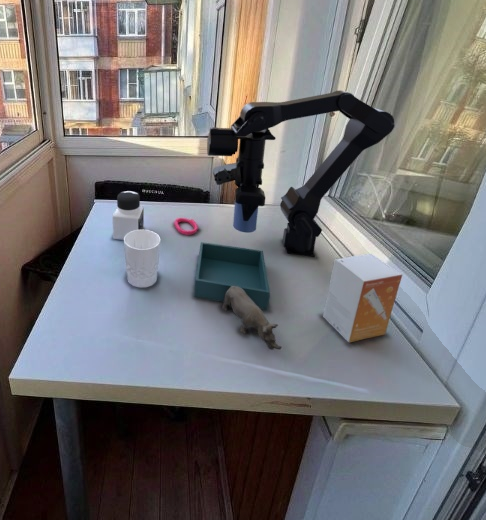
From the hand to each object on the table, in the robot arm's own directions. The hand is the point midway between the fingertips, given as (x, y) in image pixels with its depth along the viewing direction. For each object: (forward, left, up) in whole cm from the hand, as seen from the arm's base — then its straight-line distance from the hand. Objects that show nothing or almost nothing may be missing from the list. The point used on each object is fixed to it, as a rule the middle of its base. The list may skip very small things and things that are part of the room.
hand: (245, 215), depth 84 cm
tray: (+3, +15, -9) cm, 18 cm away
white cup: (+22, +19, -9) cm, 30 cm away
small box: (-19, +22, -9) cm, 30 cm away
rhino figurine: (0, +28, -9) cm, 29 cm away
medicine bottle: (+30, +2, -9) cm, 31 cm away
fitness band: (+15, -5, -9) cm, 18 cm away
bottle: (0, 0, -3) cm, 3 cm away
